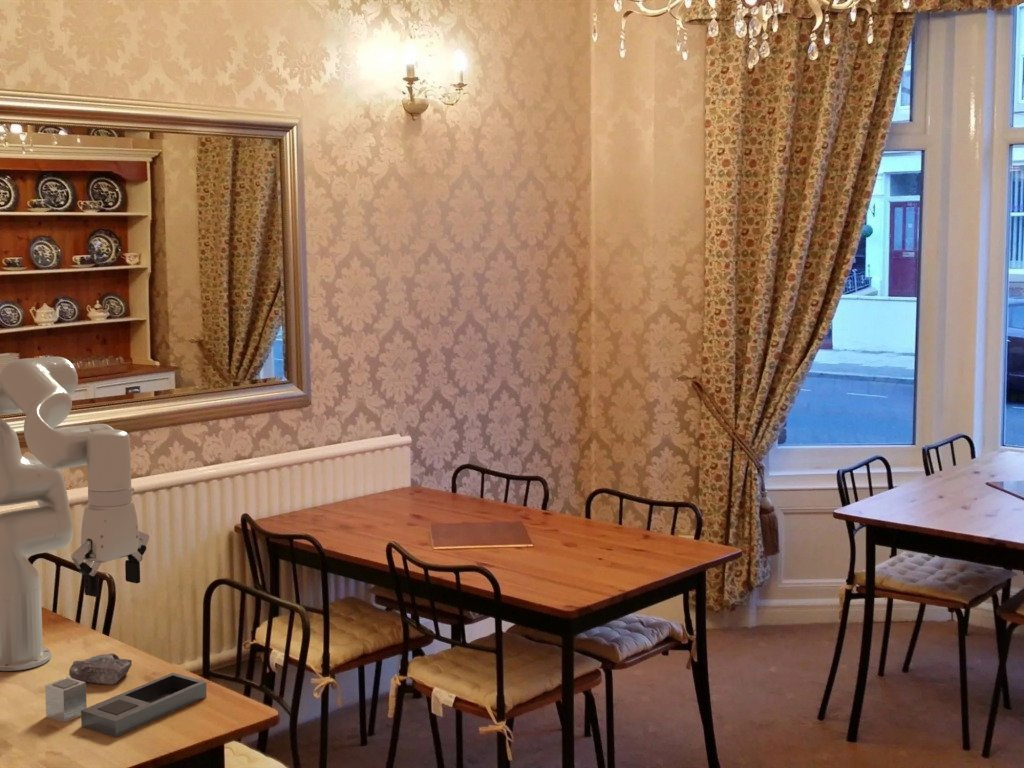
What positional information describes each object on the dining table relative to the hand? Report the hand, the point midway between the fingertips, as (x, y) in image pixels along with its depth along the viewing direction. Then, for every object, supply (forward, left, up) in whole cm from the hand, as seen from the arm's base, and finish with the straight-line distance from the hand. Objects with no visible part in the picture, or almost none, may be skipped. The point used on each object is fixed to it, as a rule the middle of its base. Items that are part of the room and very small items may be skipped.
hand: (112, 588), depth 216 cm
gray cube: (-7, -6, -24) cm, 25 cm away
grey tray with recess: (+4, +3, -24) cm, 24 cm away
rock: (-16, +10, -24) cm, 30 cm away
